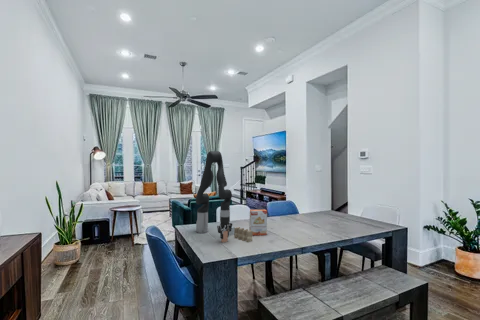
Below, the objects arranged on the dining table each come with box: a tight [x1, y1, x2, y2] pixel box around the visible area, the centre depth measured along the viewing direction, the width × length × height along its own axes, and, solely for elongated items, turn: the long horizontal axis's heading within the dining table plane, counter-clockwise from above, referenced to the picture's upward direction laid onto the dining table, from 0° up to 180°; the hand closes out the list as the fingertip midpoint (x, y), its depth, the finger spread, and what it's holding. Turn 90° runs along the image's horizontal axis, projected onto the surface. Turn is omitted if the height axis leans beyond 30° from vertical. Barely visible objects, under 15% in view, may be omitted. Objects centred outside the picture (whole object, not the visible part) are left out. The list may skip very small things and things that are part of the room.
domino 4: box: [241, 228, 249, 242], centre depth 195 cm, size 2×5×8 cm, turn 135°
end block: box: [224, 226, 236, 237], centre depth 209 cm, size 3×10×6 cm, turn 135°
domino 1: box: [220, 230, 229, 243], centre depth 191 cm, size 2×5×8 cm, turn 135°
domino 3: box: [237, 227, 245, 240], centre depth 199 cm, size 2×5×8 cm, turn 135°
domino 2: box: [233, 226, 241, 239], centre depth 202 cm, size 2×5×8 cm, turn 135°
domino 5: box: [245, 230, 253, 243], centre depth 192 cm, size 2×5×8 cm, turn 135°
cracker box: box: [248, 209, 268, 237], centre depth 211 cm, size 14×6×21 cm, turn 101°
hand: (224, 237), depth 191 cm, fingers closed on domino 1, 5 cm apart
